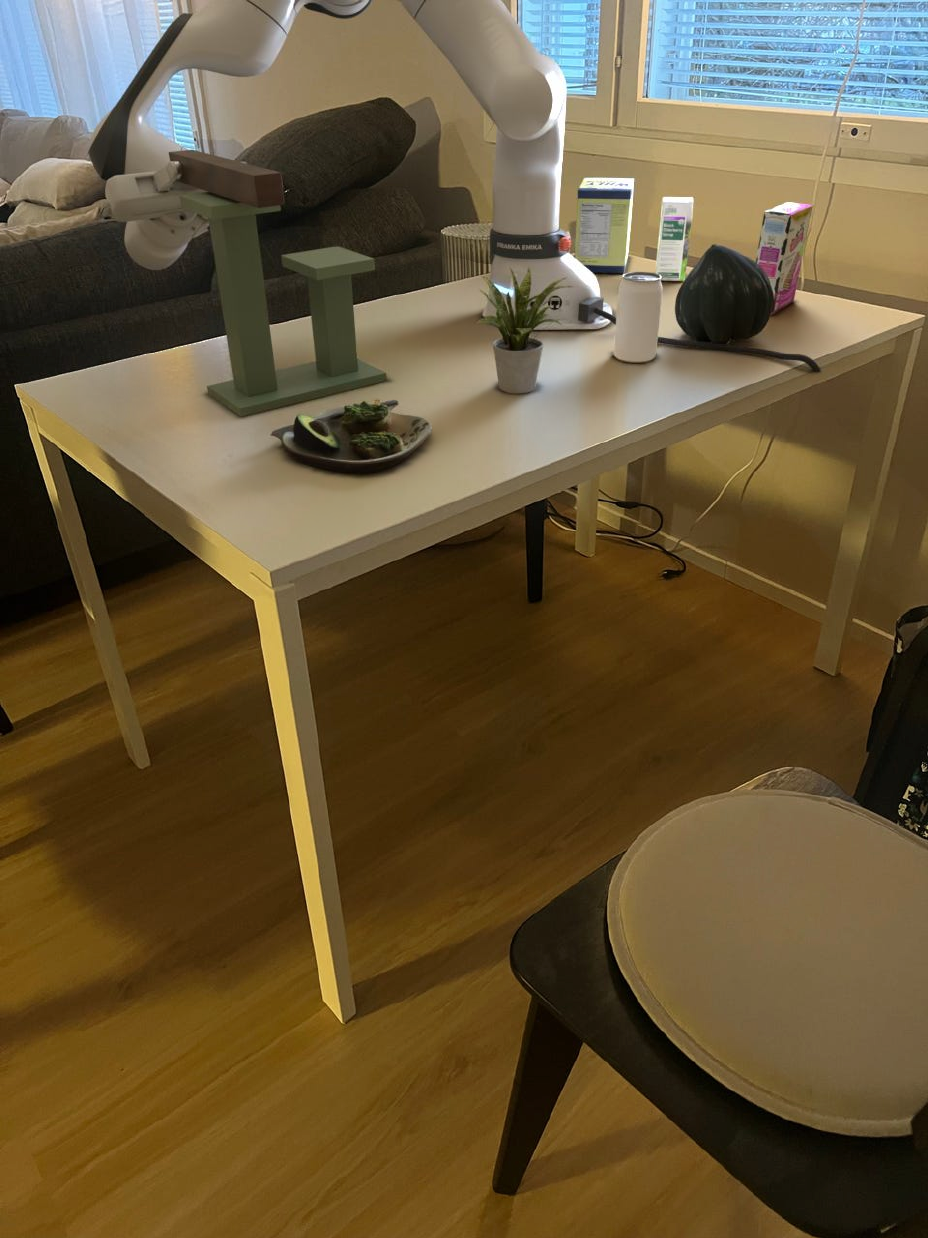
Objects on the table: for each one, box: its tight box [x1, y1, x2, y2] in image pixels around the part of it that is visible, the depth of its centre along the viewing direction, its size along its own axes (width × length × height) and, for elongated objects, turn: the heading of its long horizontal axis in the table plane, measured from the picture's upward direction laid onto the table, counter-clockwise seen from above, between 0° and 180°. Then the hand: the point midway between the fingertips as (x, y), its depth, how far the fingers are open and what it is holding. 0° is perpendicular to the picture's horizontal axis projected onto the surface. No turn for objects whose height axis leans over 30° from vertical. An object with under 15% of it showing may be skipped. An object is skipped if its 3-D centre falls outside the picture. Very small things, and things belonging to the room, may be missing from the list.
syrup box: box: [654, 196, 695, 282], centre depth 178 cm, size 6×6×14 cm
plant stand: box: [179, 192, 388, 418], centre depth 125 cm, size 11×23×26 cm, turn 126°
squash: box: [674, 243, 774, 344], centre depth 146 cm, size 14×15×15 cm
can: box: [613, 271, 664, 364], centre depth 139 cm, size 6×6×12 cm
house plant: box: [474, 268, 571, 394], centre depth 126 cm, size 14×14×16 cm
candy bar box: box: [755, 201, 814, 316], centre depth 160 cm, size 11×5×16 cm, turn 144°
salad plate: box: [270, 399, 433, 474], centre depth 115 cm, size 19×18×5 cm
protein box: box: [574, 176, 635, 274], centre depth 187 cm, size 10×16×16 cm
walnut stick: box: [169, 149, 286, 208], centre depth 114 cm, size 26×3×3 cm, turn 36°
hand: (195, 164), depth 120 cm, fingers closed on walnut stick, 3 cm apart
